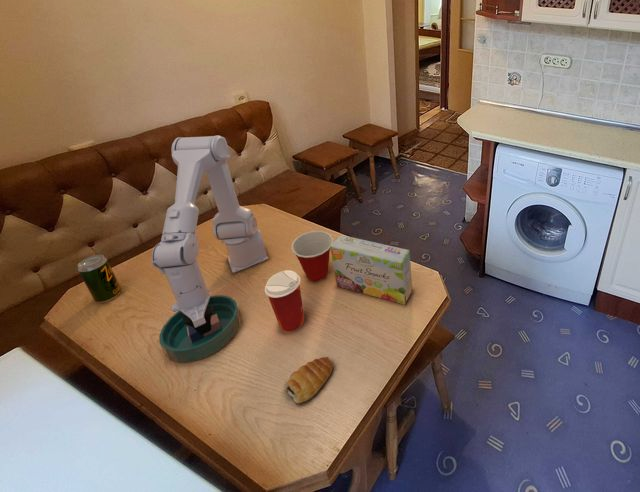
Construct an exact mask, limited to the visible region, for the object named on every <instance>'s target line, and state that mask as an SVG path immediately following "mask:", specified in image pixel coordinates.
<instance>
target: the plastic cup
mask: <svg viewBox="0 0 640 492" xmlns="http://www.w3.org/2000/svg"><path fill="white" fill-rule="evenodd" d="M333 242H334V238H333V237H332V234H330V233H328V232H327V231H323V230H311V231H308V232H304V233H302V234H299V236H297V237H296V238H295V239H294V240H293V241H292V244H291V247H290V248H291V251H292V253H293V254H294V255H295V257H296V258H297V260H298V261H299V264H300V266H301V268H302V270H303V272H304V274H305V276H306V278H307V280H308V281H310V282H314V283H316V282H320V281H322V280H324V279H325V278H326V277H327V276H328V274H329V268H330V267H329V264H330V254H331V249H330V245H331V244H332V243H333Z"/></svg>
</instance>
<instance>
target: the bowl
mask: <svg viewBox="0 0 640 492" xmlns="http://www.w3.org/2000/svg"><path fill="white" fill-rule="evenodd" d="M211 305H212V306H213V313H212V316H213V315H215V314H217V316H218V319H219V322H220V326H221V329H220V330H218V331H215V332H213V333H211V334H209V335H207V336H205V337H204V338H202V339H200V340H197V341H195V342H193V343H191V341H190V339H189V337H188V331H187V327H188V326H189V325H185V324H184V322H183V318H182V316H184V315H185V314H184V313H182V312H181V311H176V312H174V314H173V315H172V316H171V317H169V319H168V320H167V321H166V322H165V324H163V326H162V329H161V330H160V332H159V336H158V338H159V345H160V346H161V350H162V351H163V353H164V355H165V356H166V357H167V359H168V360H169V361H172V362H175V363H178V364H181V363H183V364H184V363H191V362H195V361H199V360H202V359H204V358H207V357H209V356H211V355H212V354H214V353H216V352H218V351H219V350H220V349H222V348H223V347H224V346H226V345H227V344H228V343H229V342H230V341H231V340H232V339H233V338H234V337H235V336H236V334H237V332H238V331H239V329H240V327H241V323H242V316H241V312H240V308H239V306H238V303H237V300H235V299H234V298H233V297H231V296H228V295H224V294H220V295H219V294H218V295H210V299H209V302H208V307H209V306H211Z"/></svg>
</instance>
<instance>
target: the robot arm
mask: <svg viewBox="0 0 640 492" xmlns="http://www.w3.org/2000/svg"><path fill="white" fill-rule="evenodd" d="M229 149H230V148H229V146H228V142H227V140H226V138H225V137H224V136H221V135H219V134H218V135H211V136H210V135H209V136H207V135H206V136H190V137H182V136H179V137H176V138H175V139H174V140H173V142H172V144H171V158H172V161H173V163H174V164H175V165H176V166H177V173H176V174H177V176H176V185H175V195H174V196H175V197H174V198H175V199H174V203H173V204H172V205H171V206H169V207H168V208H167V209H166V213H165V218H164V224H163V227H162V228H163V229H162V233H161V234H162V235H161V239H160V242H158V243H156V244H155V245H154V247H153V249H152V253H151V261H152V262H151V265H152V266H153V267H154V268H155V269H156V270H157V269H158V270H159V271H160V273H161V274H162V275H165V277H166V279H167V282H168V284H169V286H170V289H171V291H172V293H173V296H174V298H175V301H176V302H175V303H173V304H172V305H171V310H172V312H173V313H177V312H178V311H181V312H182V313H184V314H185V315H184V316H182V318H183V322H184V324H185V325H189V326H191V327H193V328H194V329H195V330H196V331H197V332H198V333H199V334H200V335H203V334H205V333H207V332H209V331H211V316H212V313H213V306H212V305H211V306H209V307H208V302H209V299H210V296H211V292H210V290H209V289H208V287H207V284H206V282H205V279H204V276H203V273H202V271H201V270H202V269H201V267H200V265H199V262H198V257H199V252H200V243H199V235H198V234H196V232H197V227H198V226H197V225H198V219H199V213H200V209H199V207H198V206H197V205H196V199H197V196H198V192H199V188H200V185H201V182H202V178H203V173H204V172H205V173H206V176H207V179H208V182H209V186H210V189H211V191H212V192H211V193H212V195H213V199H214V201H215V204H216V208H217V211H218V212H217V213H216V214H215V215H214V216H213V217H212V218H213V219H212V221H211V222H212V233H213V237H214V238H215V239H216V240H218V241H221V244H224V246H225V248H226V252H227V255H228V258H227V261H228V264H229V266H230V269H231V273H232V274H235V273H238V272H240V271H243V270H246V269H248V268H250V267H252V266H255V265H257V264H260V263H262V262H265V261H267V260H268V259H269V257H268V254H267V248H266V245H265V242H264V239H263V236H262V233H261V230H260V229H259V228H258V221H257V218H256V216H255V215H254V213H253V211H252V209H250V208H247V207H245V206H242V205H240V202H239V200H238V196H237V193H236V189H235V186H234V181H233V179H232V176H231V171H230V168H229V163H228V161H227V160H228V159H229V160H230V159H231V153H230V150H229Z"/></svg>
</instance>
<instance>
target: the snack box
mask: <svg viewBox="0 0 640 492" xmlns="http://www.w3.org/2000/svg"><path fill="white" fill-rule="evenodd" d="M330 254H331V260H332V266H333V269H334V271H333V272H334V276H335V281H336V286H337V287H338V288H342V289H347V290H348V291H349V290H350V291H353V292H356V293H360V294H364V295H368V296H372V297H374V298H378V299H382V300H385V301H389V302H393V303H397V304H400V305H406V303H407V301H408V300H409V298H410V296H411V295H412V294H411V293H412V292H413V283H412V282H413V281H412V266H411V265H412V264H411V251H410V249H406V248H401V247H397V246H392V245H388V244H383V243H379V242H374V241H370V240H366V239H361V238H357V237H353V236H348V235H345V234H344V235H343V234H339V236H338V237H336V238H335V240H333V243H332V244H331V245H330Z"/></svg>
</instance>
